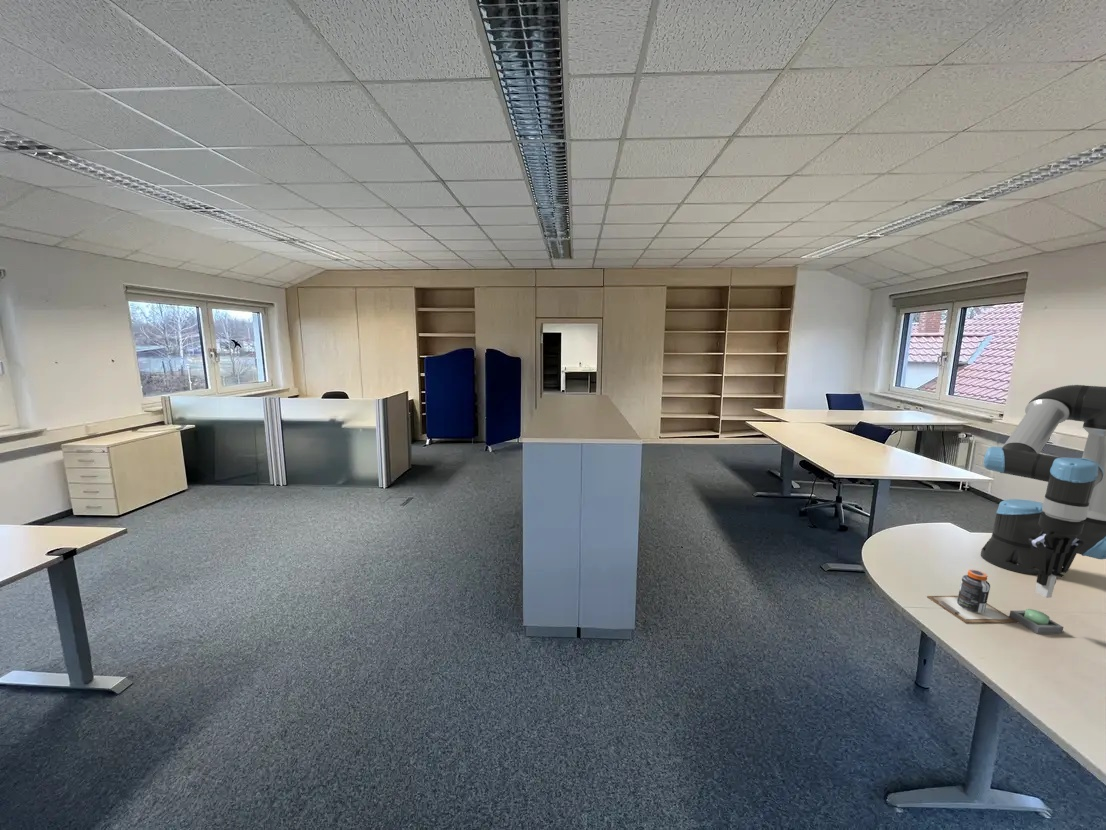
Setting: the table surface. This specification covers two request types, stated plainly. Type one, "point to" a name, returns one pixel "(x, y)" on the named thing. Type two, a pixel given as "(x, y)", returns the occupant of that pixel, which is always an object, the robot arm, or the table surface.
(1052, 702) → the table surface
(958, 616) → the clipboard
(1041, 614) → the button
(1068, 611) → the table surface
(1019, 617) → the button frame
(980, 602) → the pill bottle
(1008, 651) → the table surface
